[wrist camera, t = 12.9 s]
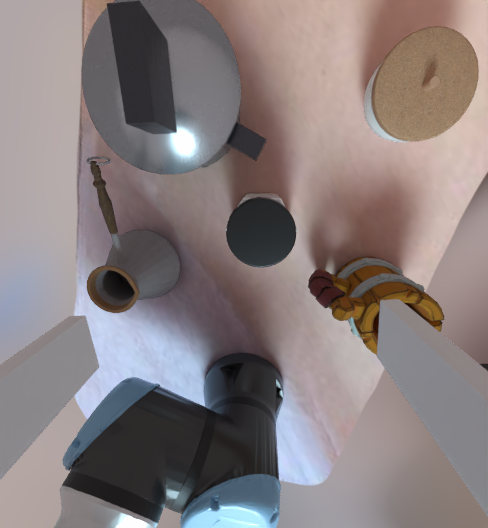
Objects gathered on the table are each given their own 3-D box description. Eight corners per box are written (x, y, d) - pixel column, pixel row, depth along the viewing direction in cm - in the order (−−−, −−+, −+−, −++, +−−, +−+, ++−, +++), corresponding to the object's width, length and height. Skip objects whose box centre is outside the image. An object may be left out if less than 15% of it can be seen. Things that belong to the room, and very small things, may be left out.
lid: (244, 171, 31) (238, 169, 23) (110, 177, 32) (61, 177, 24) (238, -5, 26) (227, -84, 18) (79, 9, 27) (5, -59, 19)
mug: (381, 323, 46) (433, 388, 32) (291, 294, 46) (304, 348, 32) (412, 267, 43) (486, 313, 29) (315, 236, 42) (342, 266, 28)
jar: (253, 179, 40) (250, 180, 29) (298, 207, 41) (312, 219, 30) (224, 229, 43) (211, 248, 32) (268, 255, 44) (270, 282, 32)
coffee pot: (183, 294, 47) (149, 345, 33) (120, 286, 47) (59, 333, 33) (189, 167, 40) (149, 161, 26) (114, 158, 41) (35, 148, 27)
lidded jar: (352, 152, 38) (379, 145, 29) (351, 65, 35) (382, 27, 26) (431, 141, 37) (484, 130, 28) (438, 50, 34) (500, 6, 25)
